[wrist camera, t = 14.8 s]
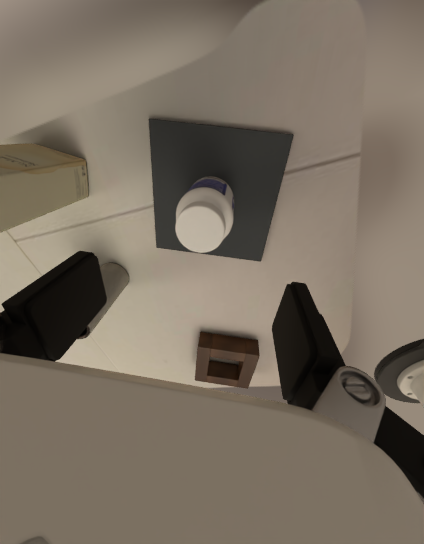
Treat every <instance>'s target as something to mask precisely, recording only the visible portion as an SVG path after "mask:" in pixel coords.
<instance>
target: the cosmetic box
mask: <svg viewBox="0 0 424 544" xmlns="http://www.w3.org/2000/svg"><path fill="white" fill-rule="evenodd" d="M87 197H88V180H87V168H86V161H85V160H84V159H81V158H78V157H75V156H72V155H69V154H66V153H63V152H59V151H56V150H53V149H50V148H47V147H43V146H40V145H37V144H32V143H31V144H7V145H0V232H3V231H5V230H8V229H10V228H12V227H15V226H17V225H20V224H22V223H25V222H27V221H30V220H32V219H35V218H37V217H40V216H42V215H45V214H47V213H50V212H52V211H54V210H57V209H59V208H62V207H64V206H67V205H69V204H72V203H74V202H77V201H79V200H82V199H84V198H87Z"/></svg>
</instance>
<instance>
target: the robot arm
mask: <svg viewBox="0 0 424 544" xmlns="http://www.w3.org/2000/svg"><path fill="white" fill-rule="evenodd" d="M106 302H107V296H106V291H105V287H104V283H103V278H102V274H101V270H100V266H99V261H98V258H97V256H95V255H94V253H92V252H85V251H79V252H77V253H75V254H74V255H72V256H71V257H69V258H68V259H67V260H65V261H64V262H62V263H61V264H59V265H58V266H56V267H55V268H53V269H52V270H50V271H49V272H47V273H46V274H45V275H43V276H42V277H40V278H39V279H37V280H36V281H34V282H33V283H31V284H30V285H28V286H27V287H25V288H24V289H23V290H21V291H20V292H18V293H17V294H15V295H14V296H12V297H11V298H9V299H8V300H6V301H5V302H3V303H2V306H3V308H4V309H5V310H4V311H3V312H1V313H0V544H424V435H422V434H421V433H420V432H418V431H417V430H416V429H415V428H413V427H412V426H411V425H409V424H408V423H407V422H406V421H404V420H403V419H402V418H400V417H399V416H398V415H397V414H395V413H394V412H393V411H391V410H390V409H389V408H388V407H386V406H385V405H386V398H385V395H384V392H383V391H382V389H381V388H380V386H379V385H378V384H377V383H376V381H375V380H374V379H373V378H371V377H370V376H369V375H368V374H366V373H365V372H363V371H361V370H359V369H357V368H354V367H350V366H346V365H345V363H344V361H343V359H342V357H341V355H340V352H339V350H338V348H337V346H336V344H335V342H334V339H333V337H332V335H331V333H330V331H329V328H328V326H327V324H326V322H325V320H324V318H323V316H322V315H321V314H319V312H318V310H317V308H316V305H315V303H314V301H313V299H312V296H311V294H310V292H309V290H308V287H307V285H306V284H305V283H298V282H292V283H291V284H287V286H286V289H285V291H284V294H283V297H282V300H281V302H280V305H279V308H278V311H277V314H276V316H275V319H274V322H273V325H272V333H273V339H274V345H275V352H276V358H277V364H278V371H279V377H280V383H281V389H282V395H283V399H284V400H287V402H288V404H286V403H281V402H276V401H272V400H266V399H261V398H257V397H251V396H246V395H241V394H236V393H230V392H225V391H219V390H214V389H208V388H203V387H197V386H192V385H186V384H181V383H175V382H169V381H164V380H158V379H152V378H147V377H141V376H135V375H129V374H124V373H118V372H112V371H106V370H101V369H95V368H89V367H83V366H77V365H71V364H65V363H59V362H55V361H56V360H59V359H60V358H61V357H62V356H63V355H64V354H65V352H66V351H67V350H68V349H69V348H70V346H71V345H72V344H73V343H74V342H75V340H76V339H77V338H78V337H79V336H80V334H81V333H82V332H83V331H84V330H85V328H86V327H87V326H88V325H89V324H90V322H91V321H92V320H93V319H94V318H95V316H96V315H97V314H98V313H99V312H100V310H101V309H102V308H103V307H104V305H105V304H106ZM397 385H398V387H399V389H400V390H401V392H402V393H403V394H404V395H406V396H408V397H410V398H413V399H417V400H419V402H420V403H421V404H422V406H423V407H424V360H421V361H419V362H416V363H414V364H412V365H410V366H409V367H407V368H406V369H405V370H403V371H402V372H401V374H400V375H399V376H398V379H397Z"/></svg>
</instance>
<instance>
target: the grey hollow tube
mask: <svg viewBox="0 0 424 544" xmlns="http://www.w3.org/2000/svg"><path fill="white" fill-rule="evenodd" d="M100 270H101V274H102V278H103V283H104V287H105V291H106V296H107V302H106V304H105V305H104V307H103V308H102V309H101V310H100V312H99V313H98V314H97V315H96V316H95V318H94V319H93V320H92V321H91V322H90V324H89V325H88V326H87V327H86V328H85V330H84V331H83V332H82V333H81V334H80V336H79V337H78V338H77V339H83V338H86V337H88V336H89V335H90V333H91V332H92V331H93V329H94V328H95V327H96V325H97V324H98V323H99V321H100V320H101V319H102V317H103V316H104V315H105V313H106V312H107V311H108V309H109V308H110V307H111V305H112V304H113V303H114V301H115V300H116V299H117V297H118V296H119V295H120V293H121V292H122V291H123V289H124V288H125V287H126V285H127V284H128V282H129V276H128V274H127V272H126V271H125V269H124V268H122V267H121V266H119V265H117V264H114V263H106V264H104V265H102V266H101V267H100Z"/></svg>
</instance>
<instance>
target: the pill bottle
mask: <svg viewBox="0 0 424 544" xmlns="http://www.w3.org/2000/svg"><path fill="white" fill-rule="evenodd" d="M233 218H234V196H233V193H232V190H231V188H230V187H229V185H228V184H227V183H226V182H225V181H223V180H221V179H219V178H217V177H204V178H201V179H199V180H198V181H196V182H195V183H194V184H193V185H192V186H191V188H190V189H189V190H188V191H187V192H186V193H185V195H184V196H183V197H182V198H181V200H180V201H179V203H178V206H177V209H176V226H175V229H176V234H177V237H178V239H179V241H180V242H181V243H182V245H183V246H185V247H186V248H187V249H189V250H191V251H194V252H198V253H206V252H210V251H212V250H214V249H216V248H217V247H218V246H219V245H220V244H221V242H222V240H223V239H224V238H225V237H226V236H227V235H228V234H229V232H230V230H231V228H232V225H233Z"/></svg>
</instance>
